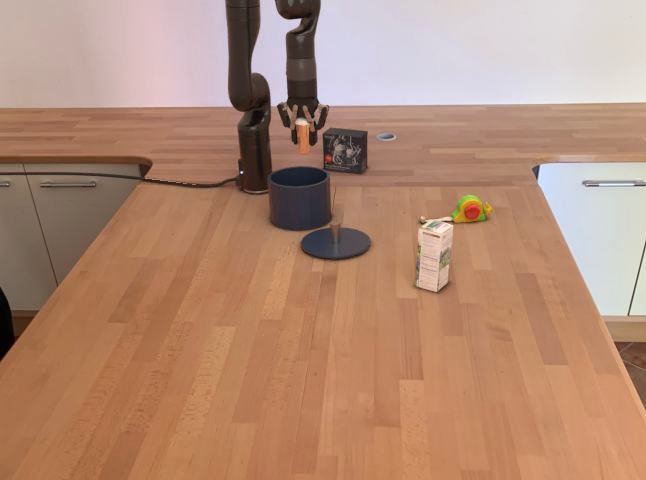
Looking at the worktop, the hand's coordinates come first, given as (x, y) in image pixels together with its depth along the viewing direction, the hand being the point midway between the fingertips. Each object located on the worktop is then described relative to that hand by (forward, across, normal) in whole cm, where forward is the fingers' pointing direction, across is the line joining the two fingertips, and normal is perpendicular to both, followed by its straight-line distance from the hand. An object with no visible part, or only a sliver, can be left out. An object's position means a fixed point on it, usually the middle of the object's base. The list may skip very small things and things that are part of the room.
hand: (304, 144), depth 184 cm
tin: (+21, +2, +1) cm, 21 cm away
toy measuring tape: (+21, -39, -9) cm, 45 cm away
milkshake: (+2, 0, 0) cm, 2 cm away
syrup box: (+20, -41, +29) cm, 54 cm away
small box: (+21, +3, -41) cm, 46 cm away
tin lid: (+20, -13, +15) cm, 28 cm away
